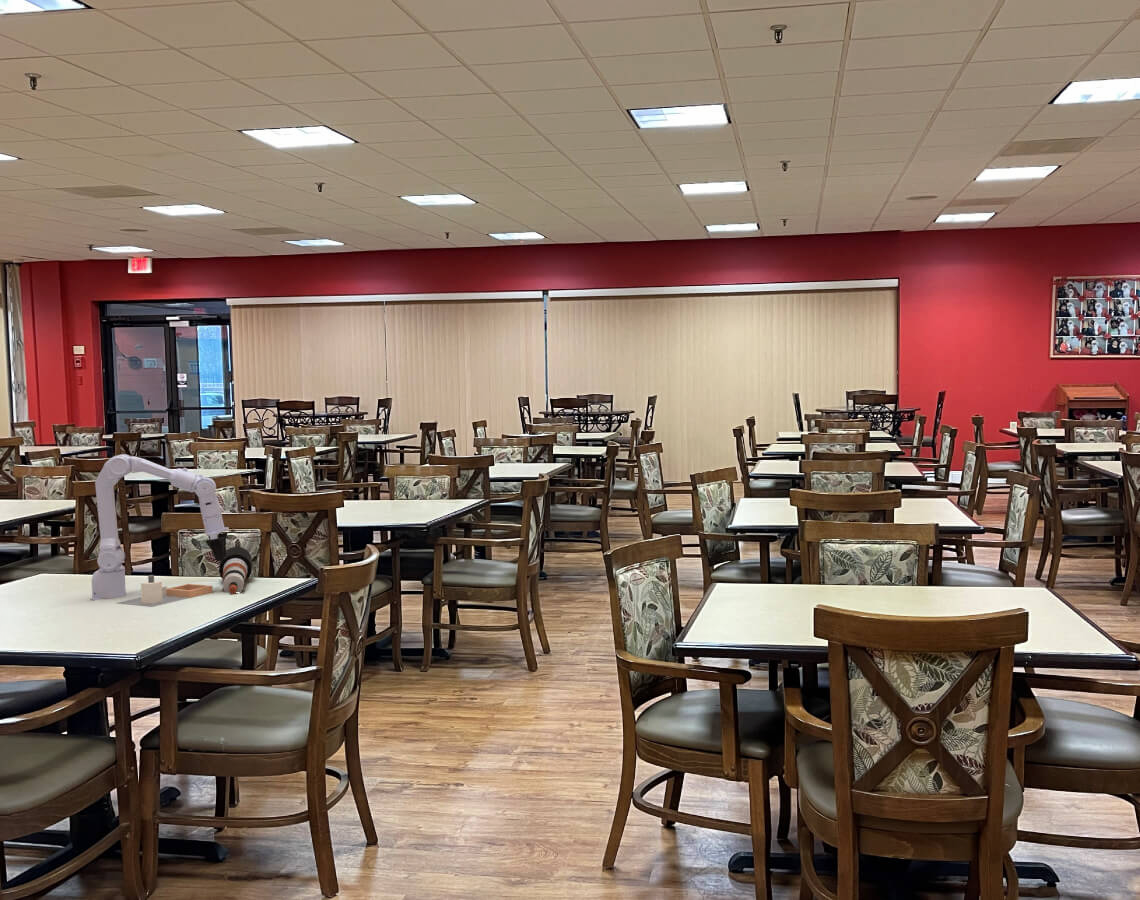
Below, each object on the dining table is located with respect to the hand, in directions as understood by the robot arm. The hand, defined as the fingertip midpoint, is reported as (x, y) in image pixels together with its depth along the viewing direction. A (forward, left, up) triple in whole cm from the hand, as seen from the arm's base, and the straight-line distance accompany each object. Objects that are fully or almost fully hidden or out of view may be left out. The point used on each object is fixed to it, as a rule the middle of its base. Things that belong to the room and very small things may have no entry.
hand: (221, 558), depth 319 cm
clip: (-10, -16, -11) cm, 22 cm away
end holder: (-4, -9, -11) cm, 15 cm away
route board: (-7, -16, -11) cm, 20 cm away
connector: (-4, -23, -10) cm, 26 cm away
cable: (-2, +8, -11) cm, 14 cm away
